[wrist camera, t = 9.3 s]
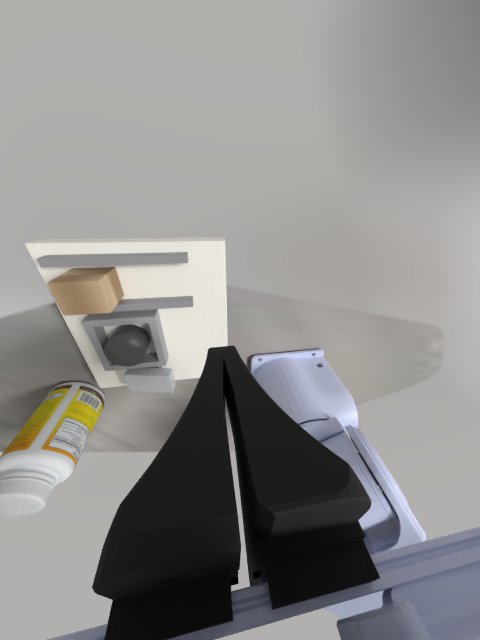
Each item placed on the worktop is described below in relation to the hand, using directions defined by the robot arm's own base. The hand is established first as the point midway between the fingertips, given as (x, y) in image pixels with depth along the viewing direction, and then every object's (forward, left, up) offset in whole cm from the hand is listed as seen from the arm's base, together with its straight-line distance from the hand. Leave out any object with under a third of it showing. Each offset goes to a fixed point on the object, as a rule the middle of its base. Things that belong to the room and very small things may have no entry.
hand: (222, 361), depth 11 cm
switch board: (+6, +3, -10) cm, 12 cm away
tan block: (+9, -1, -9) cm, 13 cm away
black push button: (+8, +4, -9) cm, 12 cm away
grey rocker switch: (+7, +9, -7) cm, 13 cm away
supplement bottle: (+16, +13, -11) cm, 24 cm away
